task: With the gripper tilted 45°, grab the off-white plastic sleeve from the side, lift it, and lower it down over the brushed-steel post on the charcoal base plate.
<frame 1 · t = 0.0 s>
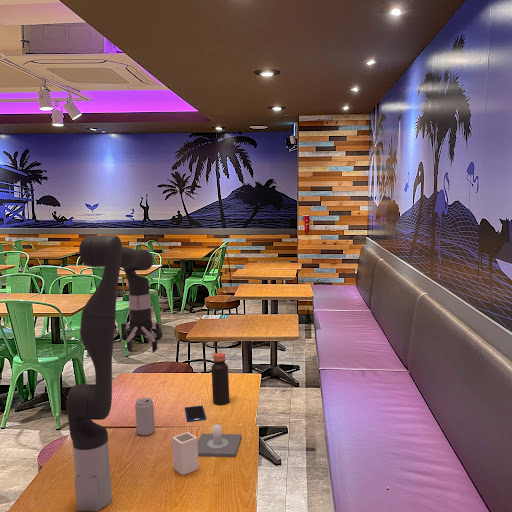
hand: (142, 351, 184), 29 cm above the table, tool pointing down, fingers open, 8 cm apart
beverage can: (146, 433, 185), on the table
cell phone: (195, 415, 201), on the table
post plate: (217, 446, 173), on the table
sleeve: (186, 468, 159), on the table
bottle: (221, 402, 211), on the table
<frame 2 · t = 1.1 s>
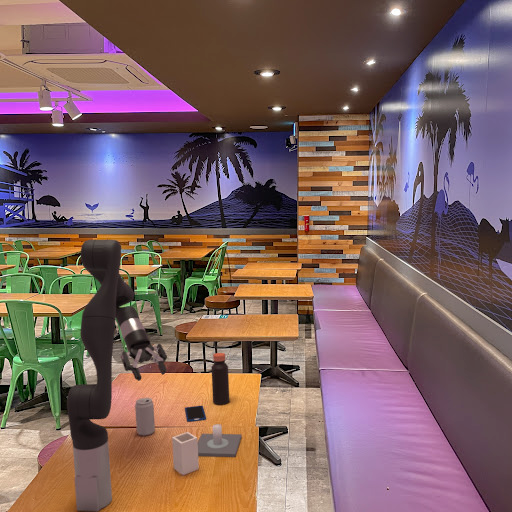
hand: (152, 376, 166), 26 cm above the table, tool tilted 45°, fingers open, 8 cm apart
nothing on the table moved.
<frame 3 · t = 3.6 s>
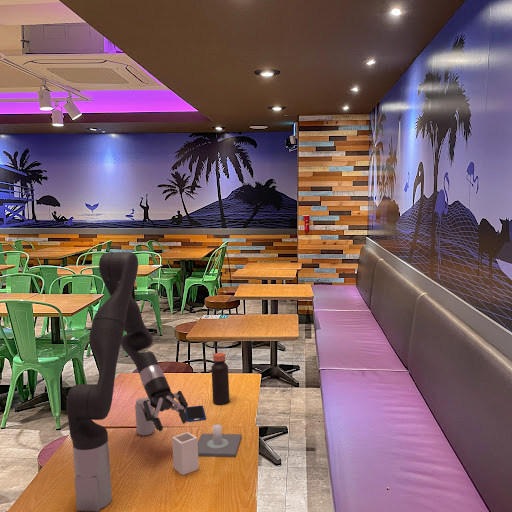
hand: (173, 426, 163), 11 cm above the table, tool tilted 45°, fingers open, 8 cm apart
nothing on the table moved.
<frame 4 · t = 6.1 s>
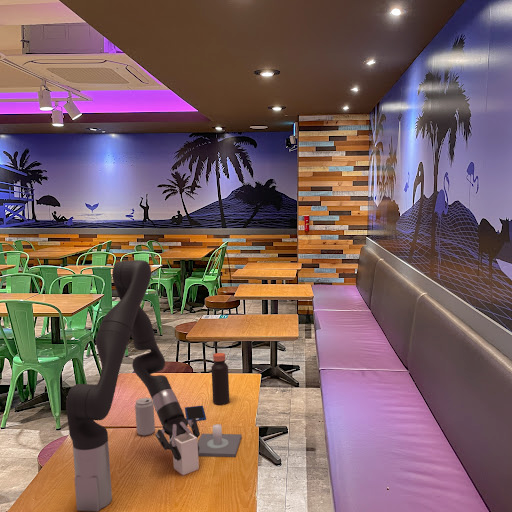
hand: (188, 456, 157), 5 cm above the table, tool tilted 45°, fingers closed on sleeve, 5 cm apart
sleeve: (186, 468, 159), on the table, touching gripper
everything else where it was.
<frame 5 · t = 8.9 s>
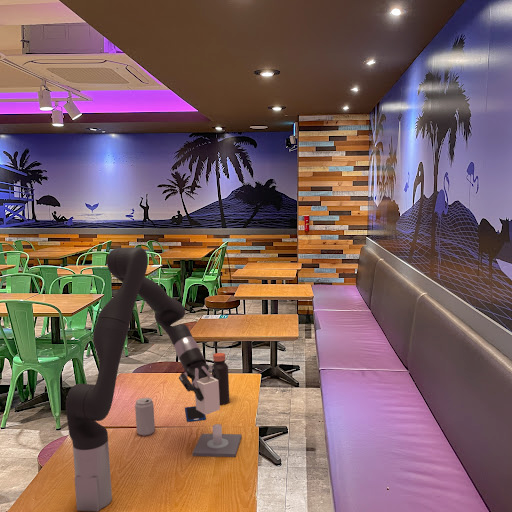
hand: (210, 397, 167), 19 cm above the table, tool tilted 45°, fingers closed on sleeve, 5 cm apart
sleeve: (208, 409, 168), point 14 cm above the table, touching gripper
everything else where it was.
when the fingers open (7 cm above the table, at t = 11.7 s): sleeve stays where it is, resting on post plate.
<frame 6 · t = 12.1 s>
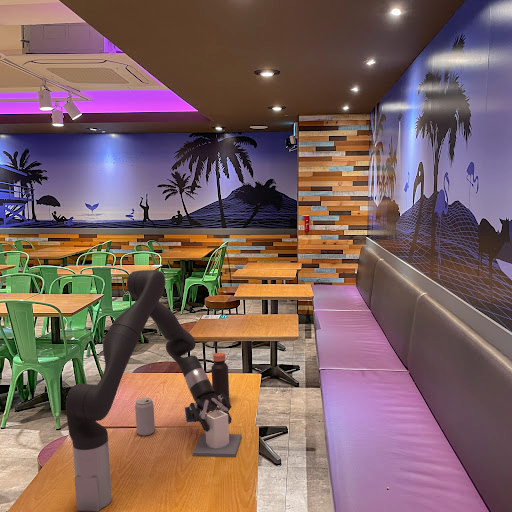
hand: (219, 426, 171), 7 cm above the table, tool tilted 45°, fingers open, 8 cm apart
sleeve: (217, 442, 173), point 1 cm above the table, touching post plate
everything else where it was.
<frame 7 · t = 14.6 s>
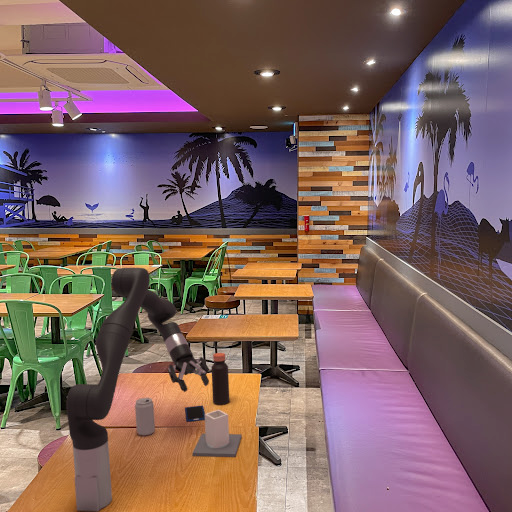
hand: (196, 387, 180), 17 cm above the table, tool tilted 45°, fingers open, 8 cm apart
nothing on the table moved.
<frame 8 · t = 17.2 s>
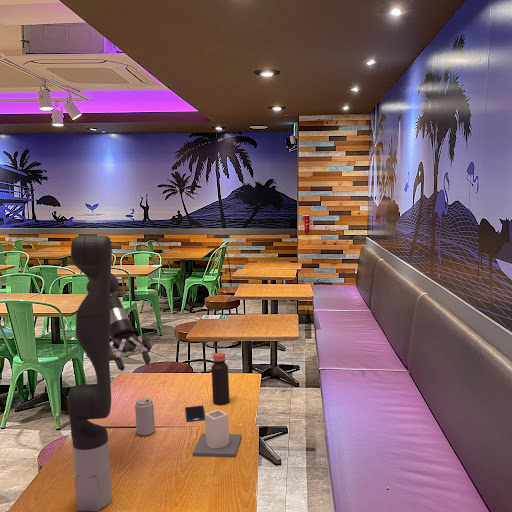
hand: (135, 366, 163), 31 cm above the table, tool tilted 45°, fingers open, 8 cm apart
nothing on the table moved.
at the end: sleeve 0.1 cm off-centre on the post plate, point 1.1 cm above the post plate's base; sleeve tilted 0°; the gripper is holding nothing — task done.
